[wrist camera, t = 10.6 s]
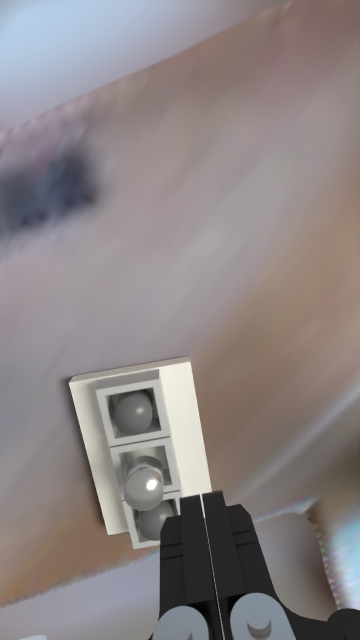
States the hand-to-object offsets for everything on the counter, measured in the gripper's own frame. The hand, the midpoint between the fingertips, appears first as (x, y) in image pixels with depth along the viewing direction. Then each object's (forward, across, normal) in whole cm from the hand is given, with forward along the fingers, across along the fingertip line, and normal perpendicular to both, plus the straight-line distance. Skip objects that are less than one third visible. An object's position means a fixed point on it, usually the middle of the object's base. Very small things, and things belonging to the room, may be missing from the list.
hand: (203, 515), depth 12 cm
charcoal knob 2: (+27, +6, +22) cm, 35 cm away
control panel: (+29, +6, +15) cm, 33 cm away
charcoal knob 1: (+27, +6, +8) cm, 29 cm away
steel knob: (+24, +6, +15) cm, 29 cm away
